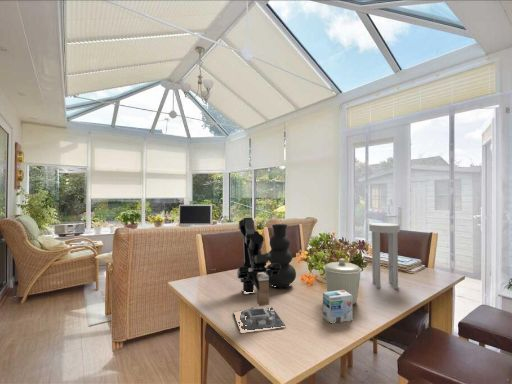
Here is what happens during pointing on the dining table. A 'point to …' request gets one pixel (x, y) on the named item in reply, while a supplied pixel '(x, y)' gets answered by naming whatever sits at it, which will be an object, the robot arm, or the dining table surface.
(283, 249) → the vase
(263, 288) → the tan tall block
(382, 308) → the dining table surface
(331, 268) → the canister
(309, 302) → the dining table surface
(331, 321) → the light bulb box
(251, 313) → the grey square base plate
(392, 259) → the stool
